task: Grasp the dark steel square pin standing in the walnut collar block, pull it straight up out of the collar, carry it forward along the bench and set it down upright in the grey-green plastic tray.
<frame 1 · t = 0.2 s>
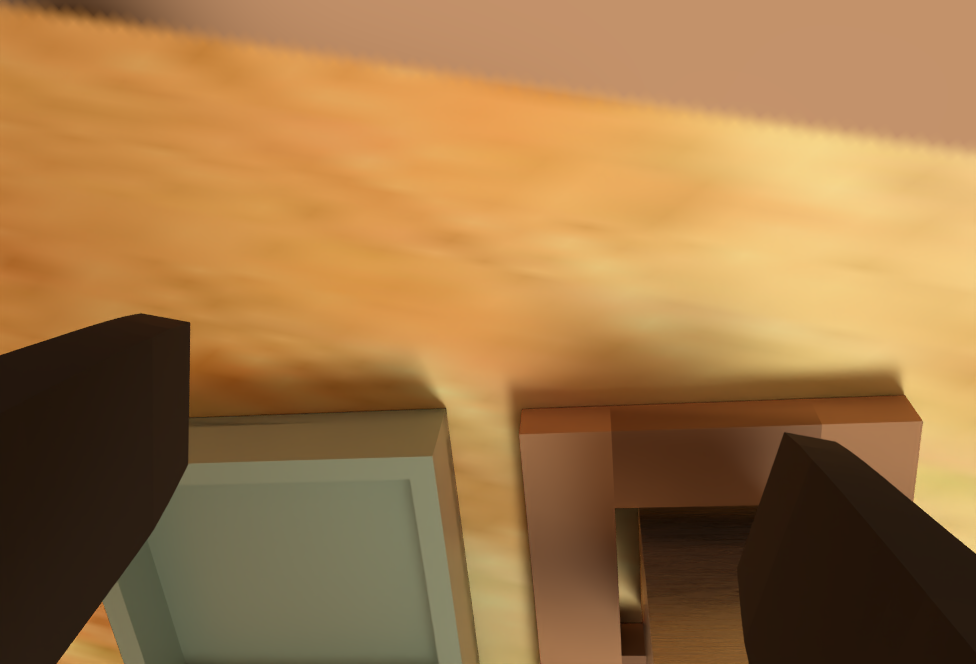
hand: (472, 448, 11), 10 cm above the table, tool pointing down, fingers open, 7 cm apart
collar: (707, 553, 23), on the table
pin: (707, 552, 23), resting in collar
tray: (301, 559, 25), on the table
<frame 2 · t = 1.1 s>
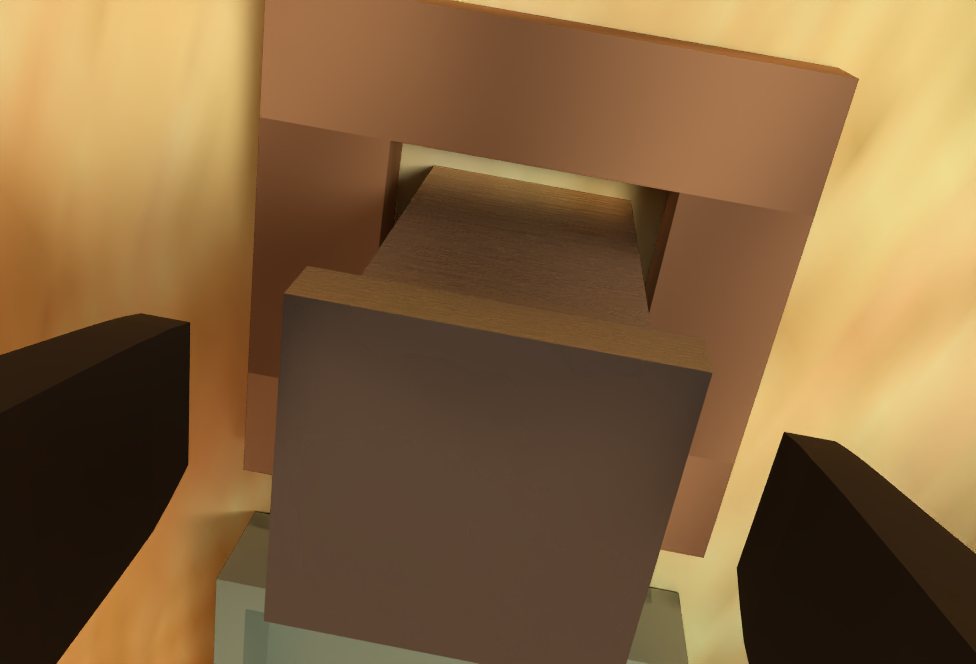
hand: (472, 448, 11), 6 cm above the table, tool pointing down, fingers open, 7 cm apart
collar: (515, 275, 16), on the table
pin: (515, 275, 16), resting in collar
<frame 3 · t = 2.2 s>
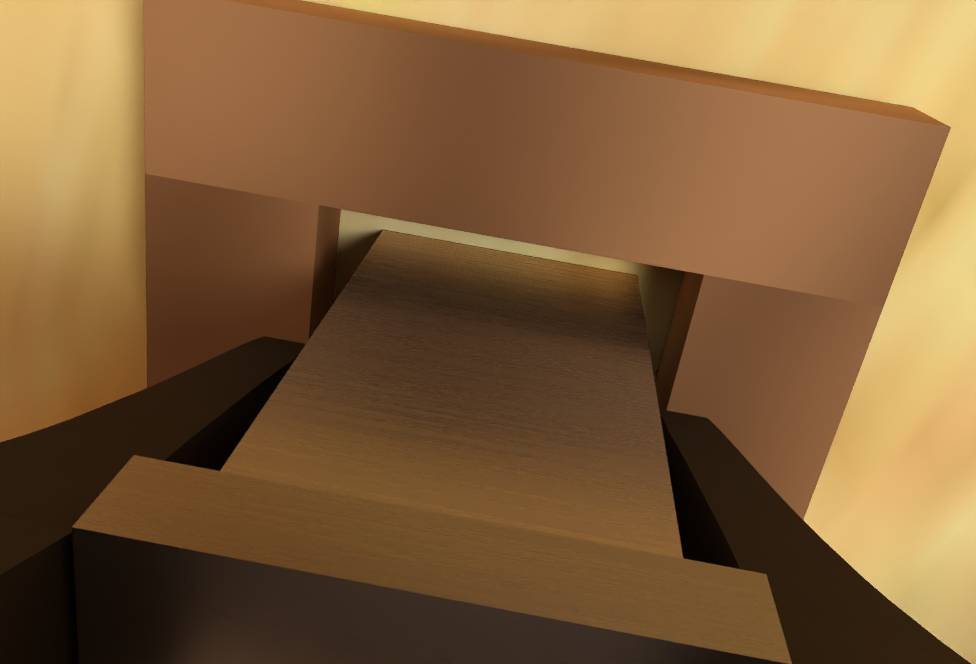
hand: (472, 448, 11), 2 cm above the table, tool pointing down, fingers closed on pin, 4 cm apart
collar: (489, 367, 13), on the table
pin: (489, 366, 13), resting in collar, touching gripper
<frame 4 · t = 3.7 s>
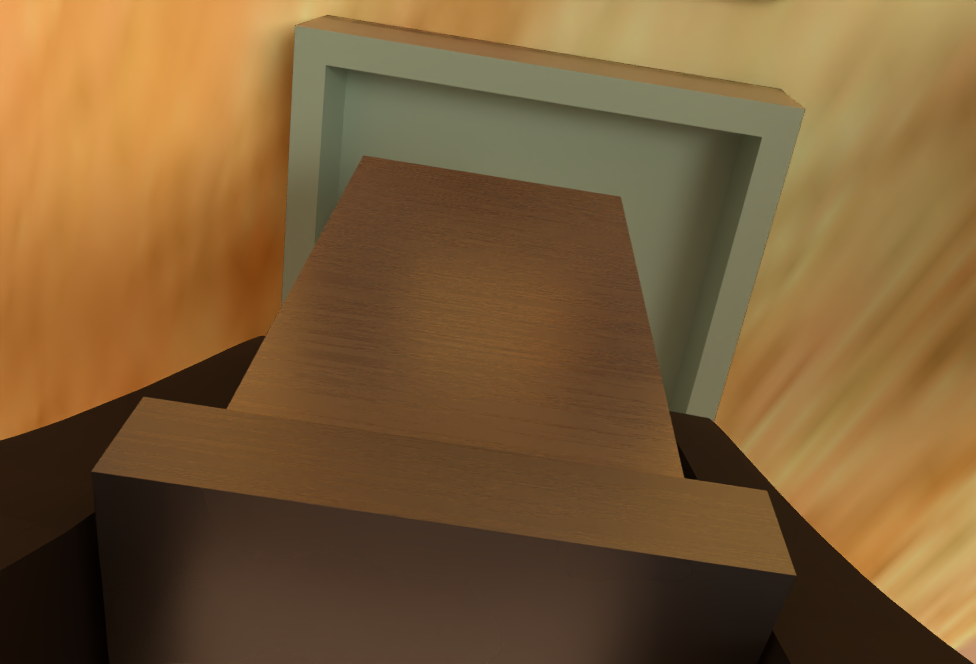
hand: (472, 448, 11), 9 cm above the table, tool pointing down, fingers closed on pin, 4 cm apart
pin: (474, 290, 13), point 7 cm above the table, tilted 6°, touching gripper
tray: (516, 264, 20), on the table
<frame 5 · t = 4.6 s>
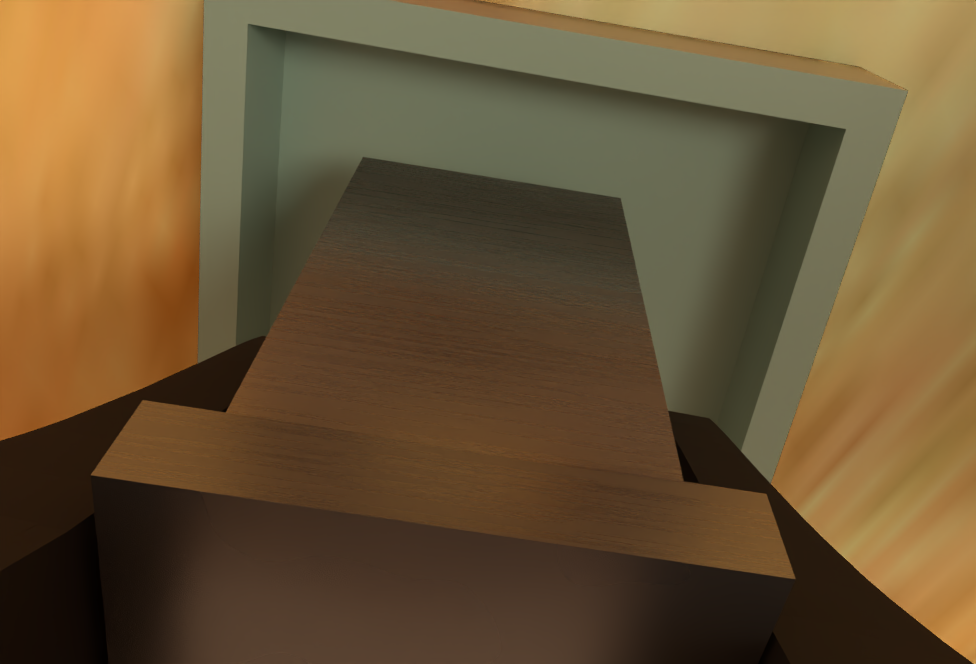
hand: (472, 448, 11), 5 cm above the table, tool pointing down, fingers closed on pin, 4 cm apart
pin: (474, 292, 13), point 2 cm above the table, tilted 6°, touching gripper
tray: (508, 291, 15), on the table
when the fingers open (4 cm above the table, at t = 5.3 s): pin stays where it is, resting on tray.
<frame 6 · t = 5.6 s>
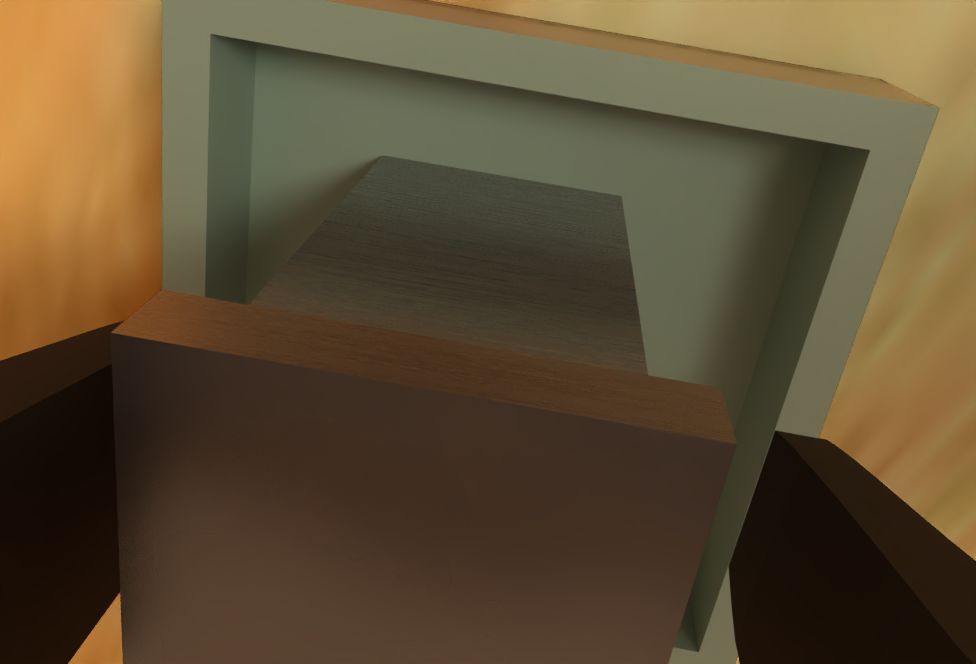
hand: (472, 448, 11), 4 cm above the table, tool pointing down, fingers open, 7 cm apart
pin: (484, 286, 13), resting on tray
tray: (499, 319, 14), on the table
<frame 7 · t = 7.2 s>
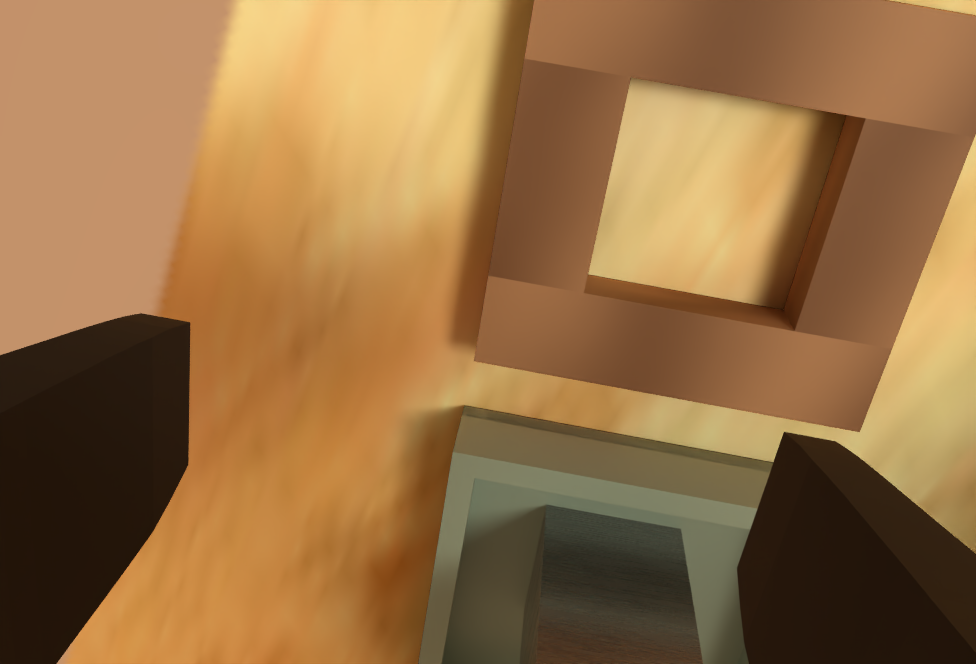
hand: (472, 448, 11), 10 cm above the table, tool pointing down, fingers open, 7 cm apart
collar: (709, 195, 20), on the table
pin: (599, 569, 23), resting on tray
tray: (605, 580, 24), on the table
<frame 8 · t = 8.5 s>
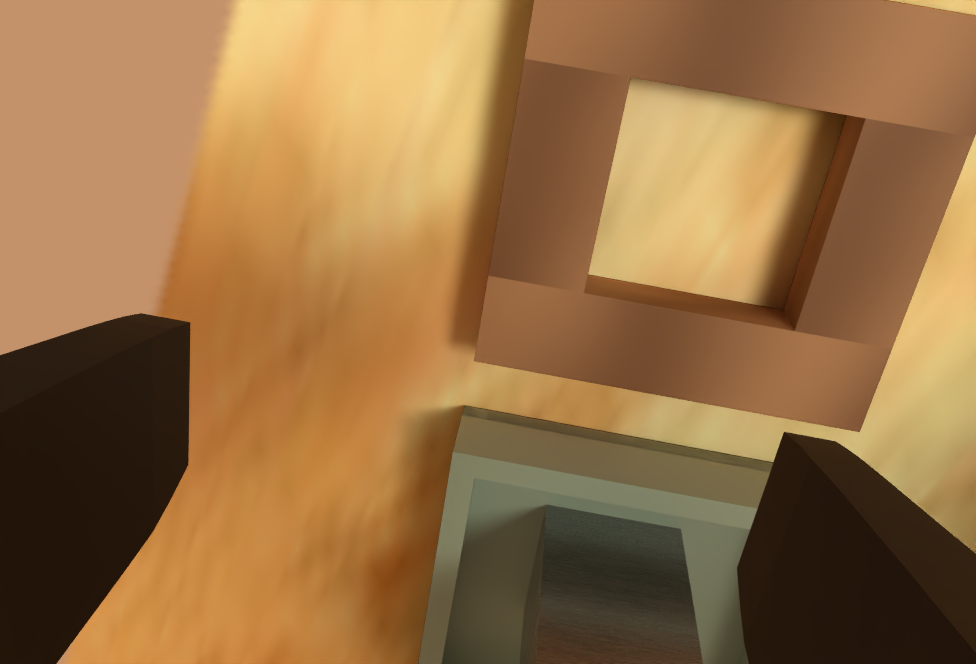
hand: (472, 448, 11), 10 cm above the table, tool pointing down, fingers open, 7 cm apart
collar: (709, 195, 20), on the table
pin: (599, 569, 23), resting on tray
tray: (605, 580, 24), on the table
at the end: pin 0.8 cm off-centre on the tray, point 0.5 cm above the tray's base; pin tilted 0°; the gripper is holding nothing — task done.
